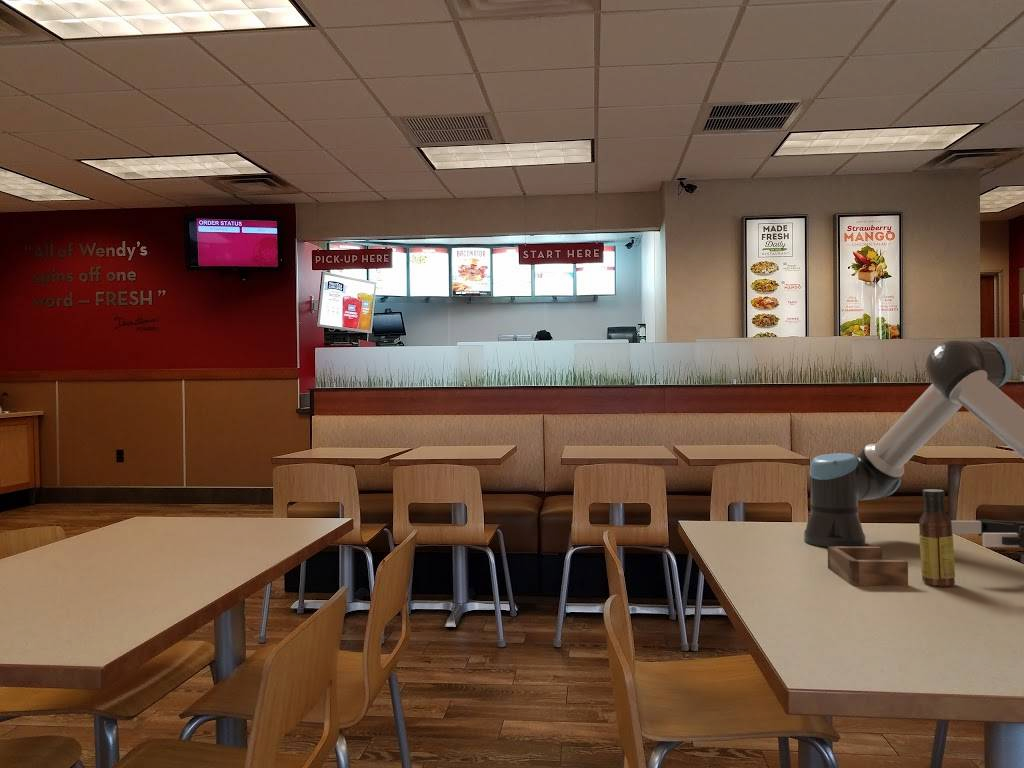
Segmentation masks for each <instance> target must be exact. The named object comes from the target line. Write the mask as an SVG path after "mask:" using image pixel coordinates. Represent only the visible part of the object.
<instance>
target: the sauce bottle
mask: <svg viewBox="0 0 1024 768" xmlns="http://www.w3.org/2000/svg"><path fill="white" fill-rule="evenodd" d="M945 495H946V493H945V490H943V489H937V488H935V489H933V488H930V489H929V488H928V489H927V488H926V489H923V490H922V498H923V502H924V504H923V506H924V507H923V513H922V514H921V516H920V518H919V520H918V523H919V525H918V526H919V554H920V570H921V571H920V572H921V578H922V579H921V580H922V583H924V584H927V585H928V586H931V587H932V586H934V587H939V588H942V587H944V588H947V587H948V588H949V587H953V586H954V585H955V583H956V581H955V578H956V572H955V571H956V566H955V549H954V546H955V545H954V534H952V523H951V521H952V520H951V518H950V517H949V515H948V514H947V513H946V512H947V511H946V509H945V497H946V496H945Z"/></svg>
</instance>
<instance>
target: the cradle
mask: <svg viewBox="0 0 1024 768" xmlns="http://www.w3.org/2000/svg"><path fill="white" fill-rule="evenodd" d="M827 569H828V570H830V571H831V572H833V573H834V574H835V575H837V576H838V577H840V578H841V579H842V580H843V581H845V582H847V583H849V584H850V586H907V587H908V586H909V561H907V560H905V559H883V548H882V547H880V546H862V547H846V546H828V547H827Z"/></svg>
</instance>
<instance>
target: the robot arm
mask: <svg viewBox="0 0 1024 768" xmlns="http://www.w3.org/2000/svg"><path fill="white" fill-rule="evenodd" d="M1012 368H1013V367H1012V359H1011V357H1010V355H1009V353H1008V352H1007V351H1006V349H1005V348H1003V347H1002V346H1001V345H1000V344H998V343H995V342H992V341H987V340H982V339H981V340H959V339H958V340H957V339H956V340H955V339H954V340H946V341H943V342H941V343H939V344H938V345H936V346H935V347H934V348H933V349H931V351H930V352H929V354H928V356H927V357H926V361H925V372H926V374H927V375H926V376H927V377H928V379H929V381H930V382H931V384H930V385H929V386H928V388H926V389H925V391H924V392H923V393H922V394H921V395H920V397H918V398H917V399H916V401H914V402H913V404H911V406H910V407H908V409H906V411H905V412H904V413H903V414H902V415H901V416H900V417H899V419H898V420H897V421H896V422H895V423H894V424H893V425H892V426H891V427H890V429H888V431H887V432H886V433H885V434H883V436H882V437H881V438H880V439H879V440H878V441H877V442H876V443H868V444H866V445H865V446H864V447H863V449H861V450H860V452H859V453H858V454H857V455H855V454H853V453H843V452H836V453H835V452H834V453H825V454H821V455H817V456H815V457H813V458H812V459H811V460H810V467H809V485H810V493H809V494H810V495H809V496H810V514H809V517H808V521H807V523H806V527H805V530H804V533H803V541H804V542H805V543H807V544H810V545H813V546H817V547H825V548H828V546H846V547H866V534H865V533H864V530H863V527H862V523H861V520H860V517H859V511H858V510H859V509H858V508H859V507H858V506H859V505H858V504H859V501H866V500H867V501H868V500H879V499H883V498H886V497H888V496H891V495H893V494H894V493H895V492H896V491H897V490H898V489H899V487H900V485H901V482H902V479H901V478H902V476H903V475H904V474H905V464H907V462H908V461H910V459H912V458H913V456H914V455H915V454H917V452H919V451H920V449H921V448H922V447H923V446H924V445H925V444H926V443H927V442H928V441H929V440H930V439H931V438H932V437H933V436H934V435H935V434H936V433H937V432H938V431H939V430H940V429H941V428H942V427H943V426H944V425H945V424H946V423H947V422H949V420H950V419H951V418H952V417H953V416H954V415H955V414H956V413H957V412H958V411H959V410H960V409H961V408H962V407H964V408H965V409H966V410H968V411H969V412H970V413H971V414H972V416H974V417H975V418H976V419H977V420H979V421H980V422H981V423H982V424H983V425H984V426H985V427H987V428H988V429H989V430H990V431H991V432H992V433H994V434H995V436H997V437H998V439H1000V440H1001V441H1002V442H1003V443H1005V444H1006V445H1007V447H1009V448H1010V449H1012V451H1014V452H1015V453H1016V454H1017V455H1019V456H1020V457H1021V459H1023V460H1024V408H1022V407H1021V406H1020V405H1019V404H1018V403H1017V402H1015V401H1014V400H1013V399H1011V397H1009V396H1008V395H1007V394H1006V393H1005V392H1003V391H1002V390H1001V389H1000V387H1002V386H1003V385H1005V384H1006V383H1007V382H1008V380H1009V378H1010V376H1011V374H1012ZM951 523H952V535H954V534H955V535H964V534H965V535H972V534H973V535H975V534H976V535H977V536H979V537H980V536H982V547H983V548H1022V549H1024V521H1015V520H1014V521H1013V520H1011V521H1010V520H997V519H986V518H985V519H982V518H977V519H976V520H951Z"/></svg>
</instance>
